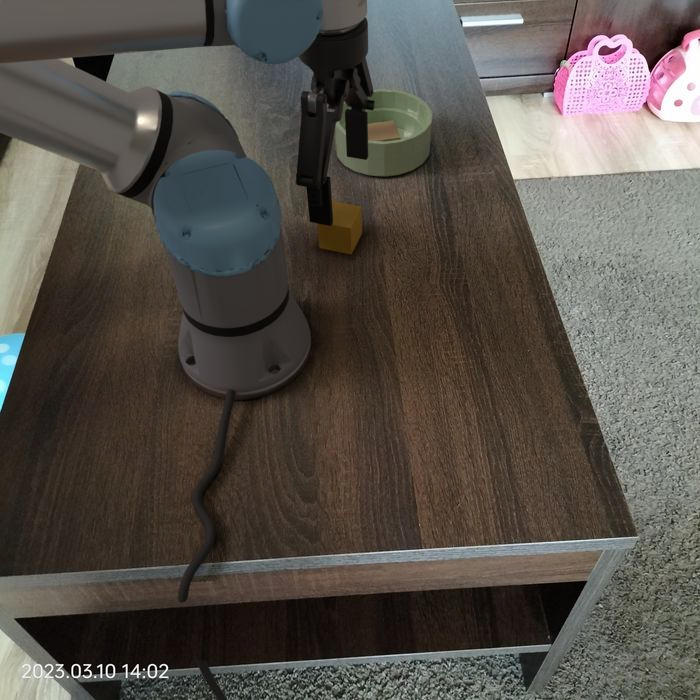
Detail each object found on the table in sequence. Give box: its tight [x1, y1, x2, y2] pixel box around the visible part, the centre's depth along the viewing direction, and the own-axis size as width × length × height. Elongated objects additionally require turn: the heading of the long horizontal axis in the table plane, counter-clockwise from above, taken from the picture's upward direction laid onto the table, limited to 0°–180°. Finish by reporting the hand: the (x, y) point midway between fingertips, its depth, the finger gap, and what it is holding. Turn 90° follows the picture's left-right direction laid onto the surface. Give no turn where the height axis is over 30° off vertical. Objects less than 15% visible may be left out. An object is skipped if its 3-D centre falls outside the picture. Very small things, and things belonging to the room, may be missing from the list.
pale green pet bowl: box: [334, 88, 434, 177], centre depth 108 cm, size 14×14×6 cm
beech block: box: [368, 121, 401, 141], centre depth 106 cm, size 4×4×4 cm
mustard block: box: [317, 200, 363, 256], centre depth 95 cm, size 4×4×4 cm
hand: (340, 188), depth 90 cm, fingers open, 13 cm apart
